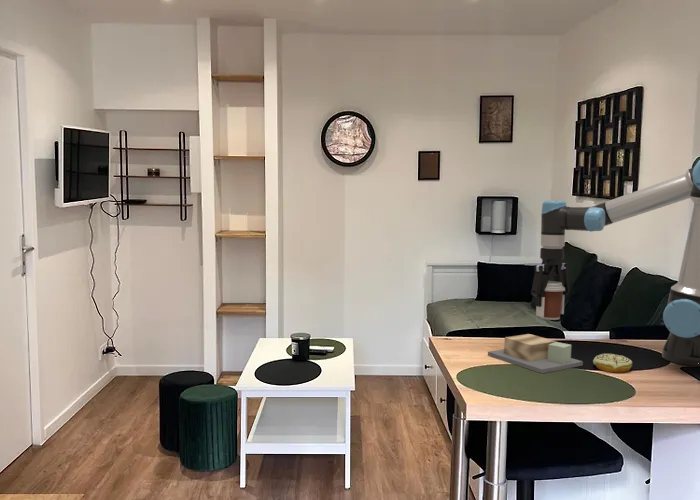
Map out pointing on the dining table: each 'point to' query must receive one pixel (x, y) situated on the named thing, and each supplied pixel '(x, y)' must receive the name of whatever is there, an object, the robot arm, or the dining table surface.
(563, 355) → the sage cube
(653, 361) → the dining table surface
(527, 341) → the oak plinth
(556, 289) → the coffee cup
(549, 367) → the build board
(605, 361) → the decorated donut
